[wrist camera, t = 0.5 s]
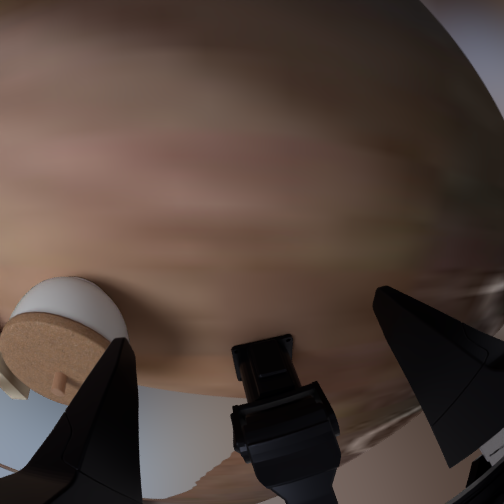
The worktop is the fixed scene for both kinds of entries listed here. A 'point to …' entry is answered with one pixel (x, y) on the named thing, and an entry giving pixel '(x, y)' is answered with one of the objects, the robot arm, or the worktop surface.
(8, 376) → the board
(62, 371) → the lidded jar
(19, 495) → the robot arm
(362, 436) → the worktop surface
